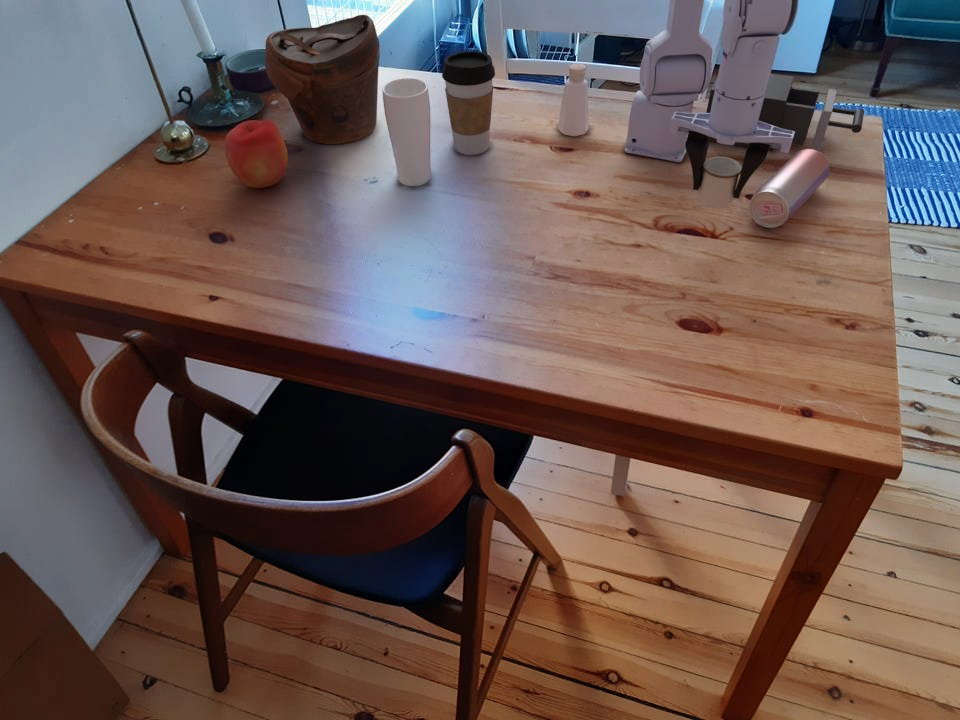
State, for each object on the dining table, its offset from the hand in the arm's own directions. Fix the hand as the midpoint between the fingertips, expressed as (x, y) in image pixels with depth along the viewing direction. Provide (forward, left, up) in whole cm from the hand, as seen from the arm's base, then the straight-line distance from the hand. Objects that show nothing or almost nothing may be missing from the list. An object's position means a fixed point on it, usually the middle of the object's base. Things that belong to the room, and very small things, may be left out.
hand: (716, 190), depth 93 cm
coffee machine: (-1, +34, -8) cm, 35 cm away
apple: (-68, -10, -8) cm, 69 cm away
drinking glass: (-46, 0, -8) cm, 47 cm away
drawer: (+9, +34, -7) cm, 36 cm away
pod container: (0, 0, -1) cm, 1 cm away
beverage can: (+11, +21, -5) cm, 24 cm away
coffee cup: (-42, +13, -8) cm, 45 cm away
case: (-67, +10, -8) cm, 68 cm away
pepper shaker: (-28, +25, -8) cm, 38 cm away
